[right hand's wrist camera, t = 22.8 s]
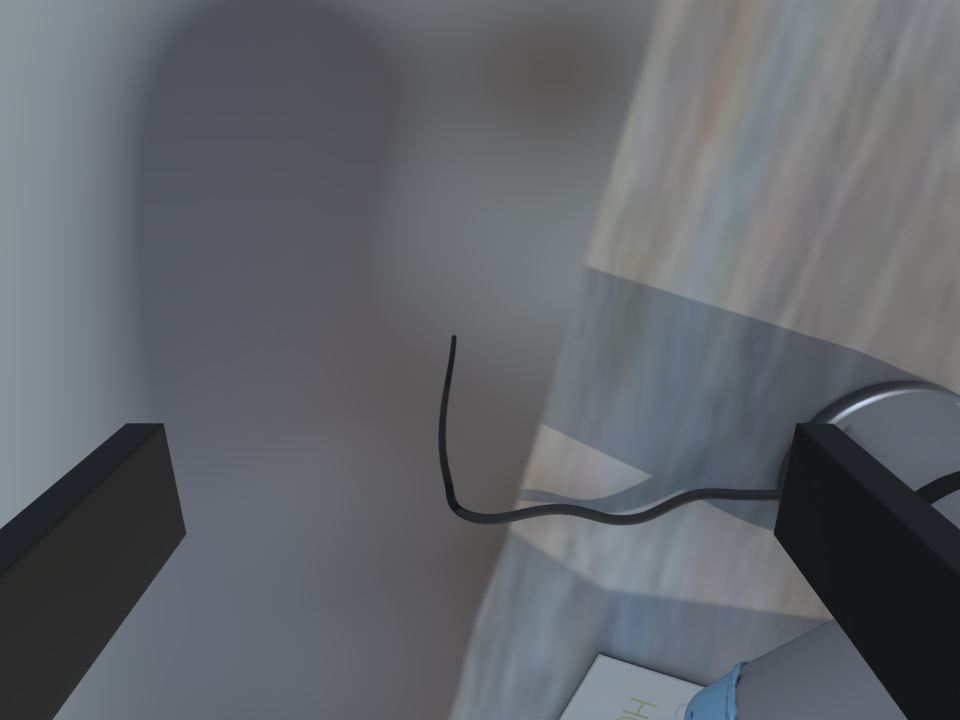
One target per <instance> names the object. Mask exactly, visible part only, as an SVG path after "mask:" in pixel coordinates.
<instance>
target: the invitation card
mask: <svg viewBox="0 0 960 720" xmlns="http://www.w3.org/2000/svg"><path fill="white" fill-rule="evenodd" d="M704 688H705V687H702V686H699V685H696V684H693V683H690V682H686V681H683V680H680V679H677V678H674V677H670V676H667V675H664V674H661V673H658V672H654V671H651V670H648V669H645V668H642V667H639V666H635V665H632V664H629V663H626V662H623V661H619V660H616V659H613V658H610V657H607V656H604V655H600V654H599V655H598V657H597V658H596V660H595V662H594V663H593V665H592V666H591V668H590V670H589V671H588V673H587V675H586V676H585V678H584V679H583V681H582V683H581V684H580V686H579V688H578V689H577V691H576V692H575V694H574V696H573V697H572V699H571V701H570V702H569V704H568V705H567V707H566V709H565V710H564V712H563V714H562V715H561V717H560V718H559V720H684V716H685V711H686V708H687V706H688V704H689V702H690V701H691V699H692V698H693V697H694V695H695V694H696V693H698V692H699V691H700V690H702V689H704Z"/></svg>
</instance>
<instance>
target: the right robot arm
mask: <svg viewBox="0 0 960 720" xmlns="http://www.w3.org/2000/svg"><path fill="white" fill-rule="evenodd" d="M456 340H457V337H456V335H452V337H451V348H450V355H449V361H448V367H447V372H446V378H445V383H444V389H443V394H442V400H441V407H440V416H439V430H438V445H439V457H440V466H441V471H442V476H443V480H444V485H445V492H446V498H447V502H448V505H449V507H450V508H451V510H452V511H453V512H454V513H455V514H456V515H458V516H459V517H461V518H463V519H465V520H467V521H470V522H474V523H478V524H502V523H508V522H513V521H518V520H522V519H527V518H531V517H537V516H543V515H553V514H564V515H573V516H578V517H583V518H587V519H590V520H594V521H597V522H601V523H606V524H612V525H633V524H639V523H643V522H647V521H650V520H652V519H655V518H657V517H659V516H661V515H663V514H665V513H667V512H669V511H671V510H673V509H675V508H677V507H679V506H681V505H683V504H686V503H689V502H692V501H696V500H702V499H730V500H779V502H780V506H779V511H778V516H777V521H776V525H775V530H774V535H775V537H776V538H777V539H778V541H779V542H780V544H781V545H782V546H783V548H784V549H785V551H786V552H787V553H788V555H789V556H790V557H791V559H792V560H793V562H794V563H795V564H796V566H797V567H798V569H799V570H800V571H801V573H802V574H803V575H804V577H805V578H806V580H807V581H808V582H809V584H810V585H811V587H812V588H813V589H814V591H815V592H816V593H817V595H818V596H819V598H820V599H821V600H822V602H823V603H824V605H825V606H826V607H827V609H828V610H829V611H830V613H831V614H832V616H833V617H834V619H832V620H831V621H829V622H827V623H825V624H823V625H821V626H819V627H817V628H815V629H813V630H811V631H809V632H807V633H805V634H803V635H801V636H799V637H798V638H796V639H794V640H792V641H790V642H788V643H786V644H784V645H782V646H780V647H778V648H776V649H774V650H772V651H770V652H768V653H766V654H765V655H763V656H761V657H759V658H757V659H755V660H753V661H751V662H747V661H743V662H740V663H739V664H737V665H736V666H735V667H734V669H733V671H732V672H730V673H729V674H727V675H725V676H724V677H722V678H720V679H719V680H717V681H715V682H714V683H712V684H710V685H709V686H707V687H705V688H704V689H702V690H700V691H699V692H698V693H696V694H695V695H694V697H693V698H692V699H691V701H690V702H689V704H688V706H687V708H686V711H685V716H684V720H960V396H959V395H957V394H956V393H954V392H952V391H950V390H948V389H946V388H943V387H941V386H937V385H934V384H930V383H924V382H916V381H897V382H888V383H883V384H878V385H874V386H871V387H867V388H864V389H862V390H859V391H856V392H854V393H852V394H850V395H847V396H845V397H844V398H842V399H840V400H838V401H836V402H835V403H833V404H832V405H830V406H829V407H827V408H826V409H825V410H823V411H822V412H821V413H819V414H818V415H817V416H816V417H815V418H814V419H813V420H812V421H810V423H797V424H796V428H795V433H794V438H793V443H792V445H791V447H790V449H789V451H788V453H787V455H786V457H785V460H784V462H783V465H782V469H781V472H780V477H779V487H778V490H733V489H716V488H711V489H700V490H694V491H690V492H686V493H683V494H681V495H678V496H676V497H674V498H671V499H669V500H667V501H666V502H664V503H662V504H660V505H658V506H656V507H654V508H652V509H650V510H647V511H644V512H641V513H637V514H632V515H612V514H606V513H602V512H598V511H595V510H591V509H587V508H583V507H579V506H574V505H564V504H551V505H541V506H535V507H530V508H525V509H520V510H516V511H511V512H506V513H500V514H479V513H475V512H471V511H469V510H466V509H464V508H463V507H461V506H460V505H459V503H458V502H457V500H456V497H455V493H454V487H453V482H452V478H451V473H450V469H449V465H448V458H447V450H446V418H447V407H448V399H449V392H450V385H451V379H452V373H453V367H454V360H455V352H456ZM185 535H186V531H185V525H184V521H183V516H182V511H181V506H180V501H179V496H178V492H177V487H176V482H175V477H174V472H173V467H172V462H171V458H170V453H169V448H168V443H167V438H166V433H165V429H164V424H163V423H127V424H125V425H124V426H123V427H122V428H121V429H119V430H118V431H117V432H116V433H115V434H113V435H112V436H111V437H110V438H109V439H107V440H106V441H105V442H104V443H103V444H101V445H100V446H99V447H98V448H97V449H95V450H94V451H93V452H92V453H91V454H90V455H88V456H87V457H86V458H85V459H84V460H82V461H81V462H80V463H79V464H78V465H76V466H75V467H74V468H73V469H72V470H70V471H69V472H68V473H67V474H66V475H64V476H63V477H62V478H61V479H60V480H58V481H57V482H56V483H55V484H54V485H53V486H51V487H50V488H49V489H48V490H47V491H45V492H44V493H43V494H42V495H41V496H39V497H38V498H37V499H36V500H35V501H33V502H32V503H31V504H30V505H29V506H27V507H26V508H25V509H24V510H23V511H21V512H20V513H19V514H18V515H17V516H16V517H14V518H13V519H12V520H11V521H10V522H8V523H7V524H6V525H5V526H4V527H2V528H1V529H0V720H52V719H53V718H54V717H55V715H56V714H57V713H58V711H59V710H60V708H61V707H62V706H63V704H64V703H65V701H66V700H67V699H68V697H69V696H70V695H71V693H72V692H73V690H74V689H75V688H76V686H77V685H78V684H79V682H80V681H81V679H82V678H83V677H84V675H85V674H86V672H87V671H88V670H89V668H90V667H91V665H92V664H93V663H94V661H95V660H96V659H97V657H98V656H99V654H100V653H101V652H102V650H103V649H104V648H105V646H106V645H107V643H108V642H109V641H110V639H111V638H112V636H113V635H114V634H115V632H116V631H117V629H118V628H119V627H120V625H121V624H122V623H123V621H124V620H125V618H126V617H127V616H128V614H129V613H130V611H131V610H132V609H133V607H134V606H135V605H136V603H137V602H138V600H139V599H140V598H141V596H142V595H143V593H144V592H145V591H146V589H147V588H148V586H149V585H150V584H151V582H152V581H153V580H154V578H155V577H156V575H157V574H158V573H159V571H160V570H161V569H162V567H163V566H164V564H165V563H166V562H167V560H168V559H169V557H170V556H171V555H172V553H173V552H174V550H175V549H176V548H177V546H178V545H179V544H180V542H181V541H182V539H183V538H184V537H185Z"/></svg>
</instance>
